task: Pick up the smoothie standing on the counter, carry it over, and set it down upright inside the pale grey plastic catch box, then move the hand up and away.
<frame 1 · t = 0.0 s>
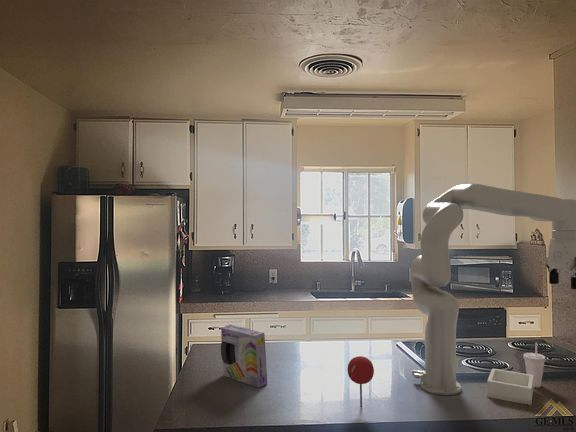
hand: (564, 286, 153), 31 cm above the countertop, tool pointing down, fingers open, 9 cm apart
catch box: (510, 393, 142), on the countertop
lollipop: (360, 408, 133), on the countertop
smoothie: (534, 385, 148), on the countertop
cake pan box: (243, 380, 156), on the countertop
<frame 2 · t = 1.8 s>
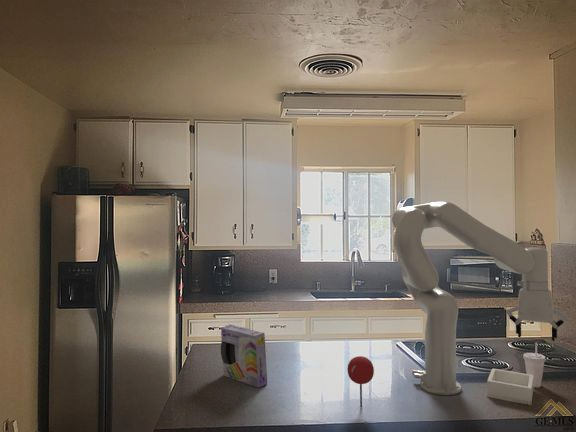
hand: (536, 337, 148), 16 cm above the countertop, tool pointing down, fingers open, 9 cm apart
nothing on the countertop moved.
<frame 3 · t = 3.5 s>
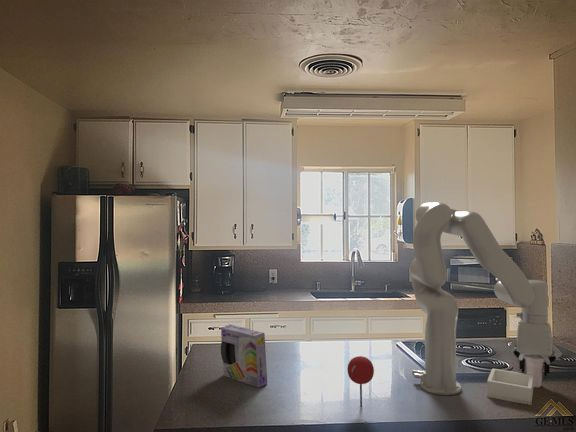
hand: (534, 372, 148), 4 cm above the countertop, tool pointing down, fingers closed on smoothie, 5 cm apart
smoothie: (534, 385, 148), on the countertop, touching gripper
everything else where it was.
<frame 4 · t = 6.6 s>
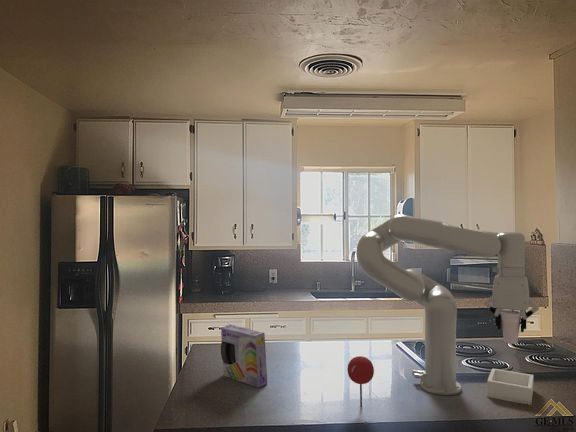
hand: (510, 329, 141), 20 cm above the countertop, tool pointing down, fingers closed on smoothie, 5 cm apart
smoothie: (510, 342, 141), point 16 cm above the countertop, touching gripper
everything else where it was.
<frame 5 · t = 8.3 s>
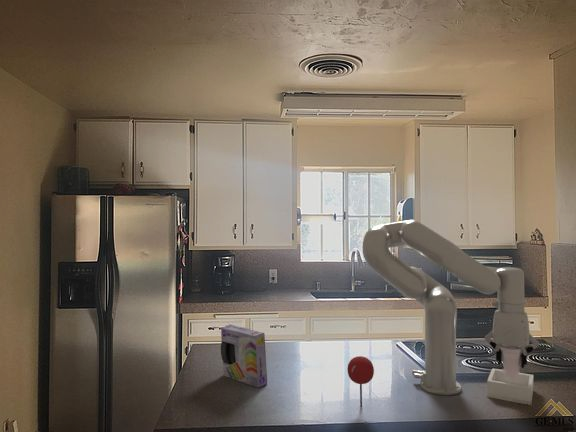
hand: (511, 364, 141), 9 cm above the countertop, tool pointing down, fingers closed on smoothie, 5 cm apart
smoothie: (511, 377, 142), point 5 cm above the countertop, touching gripper
everything else where it was.
when the fingers open (6 cm above the countertop, at t = 9.8 s): smoothie drops 1 cm, resting on catch box.
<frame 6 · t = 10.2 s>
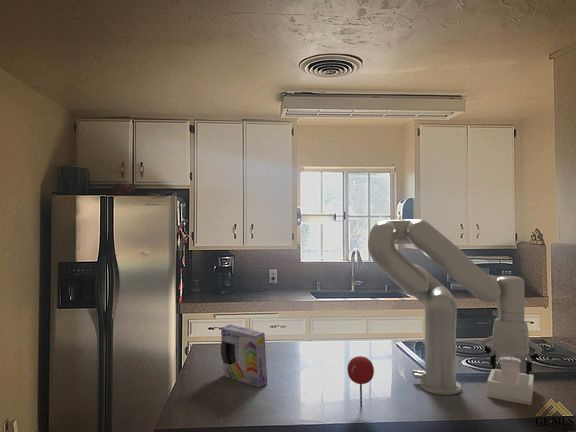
hand: (510, 370, 141), 7 cm above the countertop, tool pointing down, fingers open, 9 cm apart
smoothie: (510, 391, 141), point 1 cm above the countertop, touching catch box
everything else where it was.
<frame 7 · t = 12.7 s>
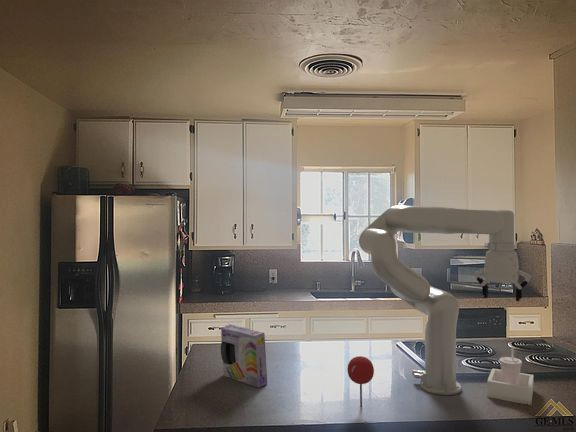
hand: (501, 299, 150), 28 cm above the countertop, tool pointing down, fingers open, 9 cm apart
nothing on the countertop moved.
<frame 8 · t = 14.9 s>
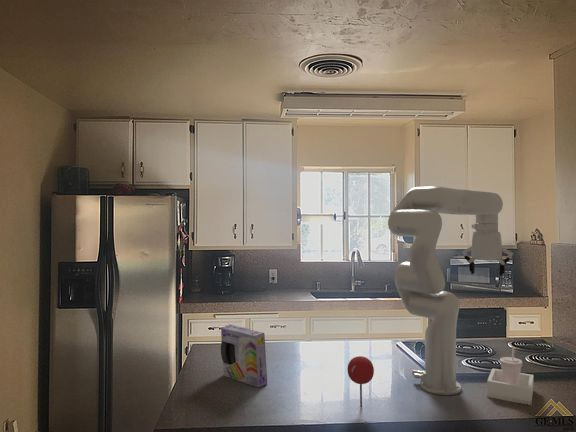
hand: (486, 274, 166), 33 cm above the countertop, tool pointing down, fingers open, 9 cm apart
nothing on the countertop moved.
at the end: smoothie 0.3 cm off-centre on the catch box, point 0.8 cm above the catch box's base; smoothie tilted 1°; the gripper is holding nothing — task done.
